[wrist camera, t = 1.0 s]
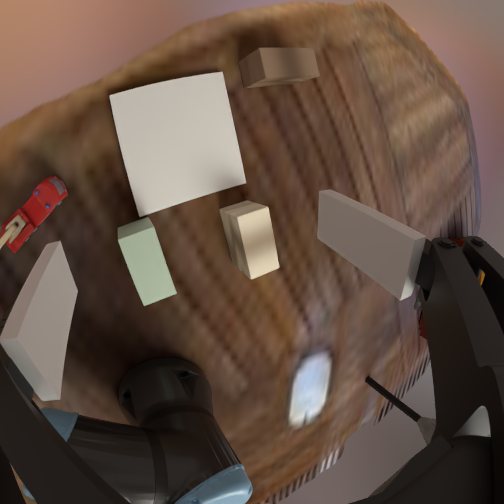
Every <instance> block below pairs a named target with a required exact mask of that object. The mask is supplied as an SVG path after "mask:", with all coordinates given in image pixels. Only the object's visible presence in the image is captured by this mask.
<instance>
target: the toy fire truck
mask: <svg viewBox="0 0 504 504" xmlns="http://www.w3.org/2000/svg"><path fill="white" fill-rule="evenodd" d="M32 193H33V195H32V196H31V197H30V198H29V200H28V201H27V202H26V203H25V204H24V206H23V207H22V208H19V209H18V210H17V211H16V212H15V213H14V214H13V215H12V216H11V217H10V218H9V219H8V220H7V221H6V222H5V223H4V225H3V226H2V229H3V231H2V233H1V234H0V237H1V239H0V249H1V247H2V246H3V245H4V244H5V243H6V244H7V245H8V247H9V248H10V249H11V250H12V252H13V253H16V252H17V250H18V249H19V248H20V247H21V246H22V245H23V243H25V242H26V241H27V240H28V238H29V237H30V236H31V235H30V234H32V233H34V232H35V231H36V230H37V228H38V227H39V225H40V224H41V223H42V222H43V221H44V220H45V219H46V217H47V216H48V215H49V214H50V213H51V212H52V211H53V210H54V208H55V207H57V206H58V205H59V204H60V203H61V202H62V201H63V199H64V198H65V197H66V196H67V195H68V192H67V189H66V187H65V185H64V183H63V182H62V181H61V180H60V179H59V178H58V177H56V176H51V177H48V178H47V179H45V180H44V181H42V182H41V183H40V184H39V185H38V186H37V187H36V188H35V189H34V191H33V192H32Z"/></svg>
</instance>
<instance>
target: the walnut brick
mask: <svg viewBox="0 0 504 504" xmlns="http://www.w3.org/2000/svg"><path fill="white" fill-rule="evenodd" d="M239 67H240V71H241V76H242V80H243V85H244V88H252V87H261V86H272V85H286V84H296V83H299V82H302V81H305V80H308V79H311V78H315V77H318V76H320V75H319V71H318V66H317V62H316V58H315V54H314V50H313V49H309V48H258V49H256V50H255V51H253V52H252V53H250V54H249V55H247V56H246V57H244V58H243V59H242V60H240V61H239Z"/></svg>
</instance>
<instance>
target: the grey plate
mask: <svg viewBox="0 0 504 504" xmlns="http://www.w3.org/2000/svg"><path fill="white" fill-rule="evenodd" d="M109 97H110V102H111V107H112V112H113V117H114V122H115V126H116V131H117V135H118V139H119V144H120V148H121V152H122V156H123V160H124V164H125V168H126V171H127V175H128V179H129V182H130V186H131V190H132V193H133V197H134V200H135V203H136V207H137V210H138V213H139V216H140V217H141V216H144V215H147V214H150V213H153V212H156V211H159V210H162V209H164V208H167V207H170V206H173V205H176V204H179V203H182V202H185V201H189V200H192V199H195V198H198V197H201V196H204V195H208V194H211V193H214V192H217V191H221V190H224V189H227V188H231V187H234V186H238V185H241V184H244V183H246V180H245V175H244V170H243V165H242V161H241V156H240V151H239V146H238V142H237V137H236V132H235V128H234V123H233V118H232V114H231V109H230V105H229V100H228V95H227V91H226V86H225V82H224V77H223V72H216V73H209V74H202V75H196V76H190V77H184V78H179V79H174V80H169V81H164V82H159V83H155V84H150V85H146V86H142V87H138V88H134V89H131V90H127V91H123V92H120V93H116V94H113V95H110V96H109Z"/></svg>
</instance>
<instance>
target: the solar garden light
mask: <svg viewBox="0 0 504 504" xmlns="http://www.w3.org/2000/svg"><path fill="white" fill-rule="evenodd" d="M365 382H366V383H368V384H369V385H370V386H371V387H373V388H374V389H375V390H376V391H378V392H379V393H380V394H381V395H383V396H384V397H385V398H386V399H388V400H389V401H390V402H391V403H393V404H394V405H395V406H396V407H398V408H399V409H400V410H402V411H403V412H404V413H405V414H407V415H408V416H409V417H410V418H412V419H413V420H414V421H416V422H417V424H418V426H419V428H420V431H421V432H422V435H423V437H424V440H425V442H426V444H427V445H429V444H430V441H431V438H432V435H433V433H434V430H435V427H436V419H431V418H425V417H421V416H420V415H418V414H417V413H416V412H414V411H413V410H412V409H410V408H409V407H408V406H407V405H405V404H404V403H403V402H401V401H400V400H399V399H397V398H396V397H395V396H394V395H392V394H391V393H390V392H388V391H387V390H386V389H385V388H383V387H382V386H381V385H379V384H378V383H377V382H376V381H374V380H373V379H372V378H370V377H367V379H366V380H365Z"/></svg>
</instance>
